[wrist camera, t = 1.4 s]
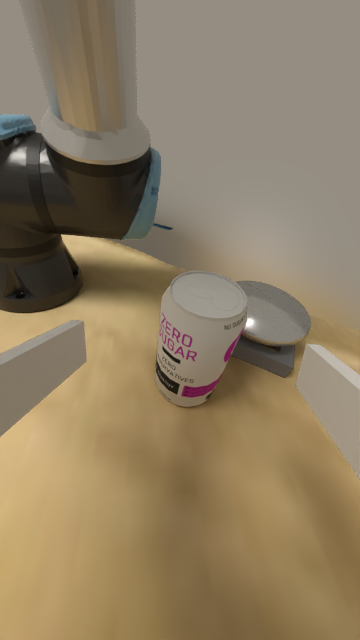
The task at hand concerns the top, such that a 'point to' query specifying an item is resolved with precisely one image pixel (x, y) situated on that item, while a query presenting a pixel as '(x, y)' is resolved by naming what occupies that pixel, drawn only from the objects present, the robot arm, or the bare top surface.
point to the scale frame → (266, 356)
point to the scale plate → (273, 315)
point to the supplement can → (197, 335)
